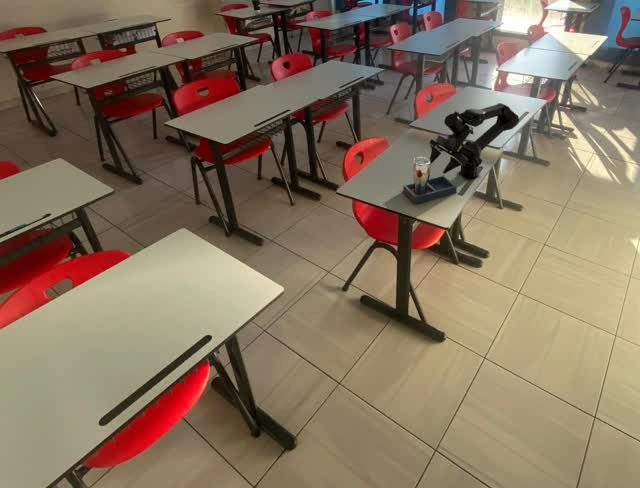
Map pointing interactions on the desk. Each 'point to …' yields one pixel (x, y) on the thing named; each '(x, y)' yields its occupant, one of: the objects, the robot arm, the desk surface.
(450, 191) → the divided tray
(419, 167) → the beer glass
